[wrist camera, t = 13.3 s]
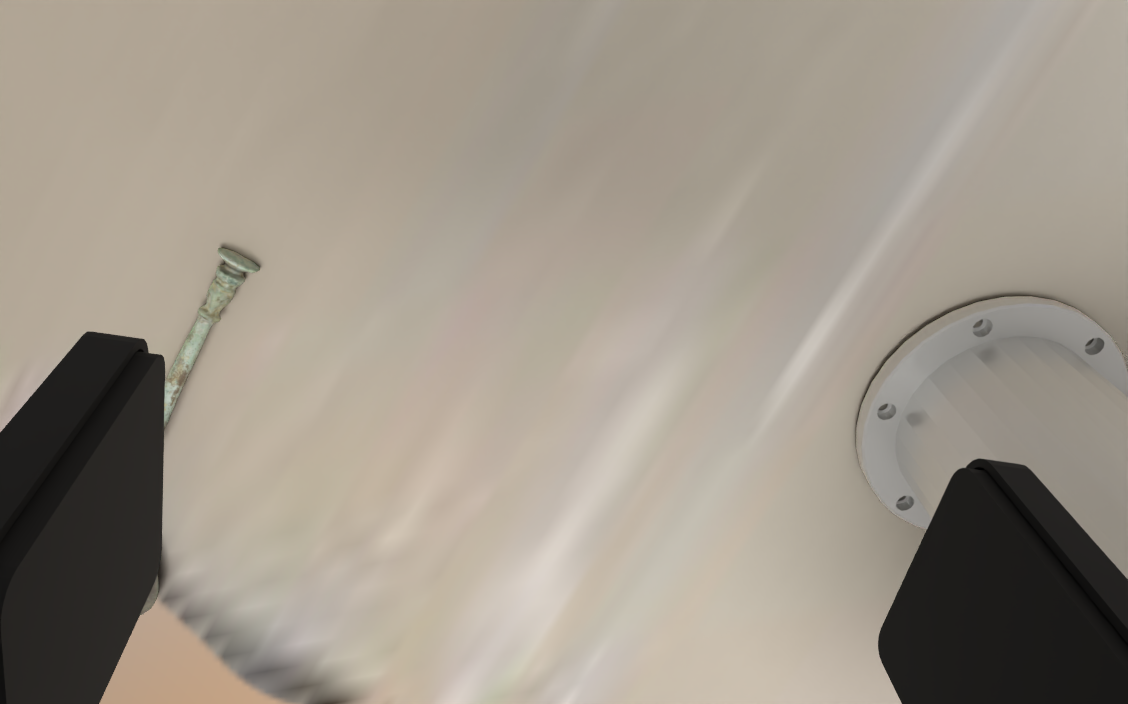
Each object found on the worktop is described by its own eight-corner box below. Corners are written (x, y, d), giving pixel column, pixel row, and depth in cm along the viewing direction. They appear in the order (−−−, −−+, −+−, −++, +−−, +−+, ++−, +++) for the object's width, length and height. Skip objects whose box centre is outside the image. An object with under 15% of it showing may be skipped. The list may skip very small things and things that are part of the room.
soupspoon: (9, 573, 47) (142, 615, 49) (-20, 625, 44) (122, 667, 46) (170, 211, 38) (322, 282, 41) (146, 247, 35) (312, 320, 38)
